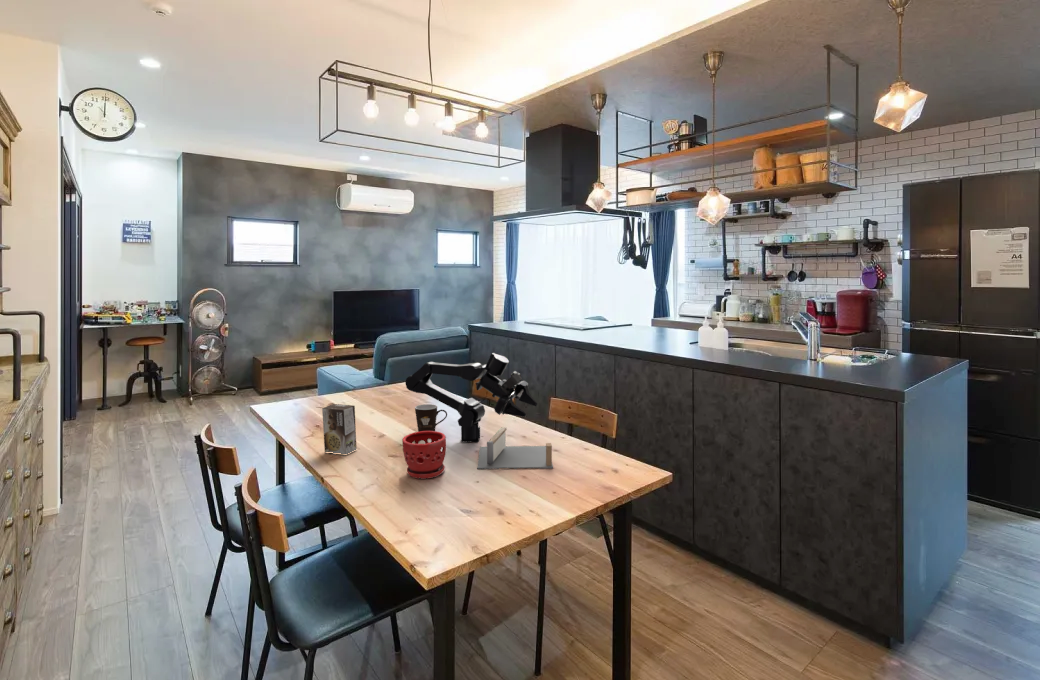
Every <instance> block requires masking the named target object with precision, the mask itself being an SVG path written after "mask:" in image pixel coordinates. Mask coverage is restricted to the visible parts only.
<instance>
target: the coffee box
mask: <svg viewBox="0 0 1040 680" xmlns="http://www.w3.org/2000/svg"><path fill="white" fill-rule="evenodd" d="M355 408H356V407H355V405H353V404H352V405H351V404H339V403H332V404H330V405H327V406H324V407H322V409H321V411H322V427H323V442H324V443H323V445H324V446H323V447H324V453H325V452H333V453H341V454H348V453H350V452H352V451H354V450H356V449H357V431H356V428H357V427H356V410H355Z"/></svg>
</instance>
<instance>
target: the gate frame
mask: <svg viewBox="0 0 1040 680" xmlns="http://www.w3.org/2000/svg"><path fill="white" fill-rule="evenodd" d="M478 452H479V453H478V459H477V460H478V461H477V470H500V469H499V468H514V470H518V469H517V468H539V469H554V465H553V461H552V460H553V446H552V443H551V442H546V443H545V445H537V446H536V445H516V446H515V445H514V446H513V445H511V446H509V445H508V446H505V448H504V449H503V450H502V451H501V452H500V454H499V455H498V456H497V457H496V459H495V460H494V461H493V464H487V446H479V451H478Z"/></svg>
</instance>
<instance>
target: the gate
mask: <svg viewBox="0 0 1040 680" xmlns="http://www.w3.org/2000/svg"><path fill="white" fill-rule="evenodd" d="M507 429H508V428H507V427H506V426H505V427H504V426H502V427H500V428H499V430H497V432H495V433H494V435H493V436H492V437H490V439H488V441H487V442H486V447H487V464H493V461H494V460H495V459H496V457H497V456H498V455H499V454H500V452H501V451H502V450H503V449H504V448H505V446H506V431H507Z"/></svg>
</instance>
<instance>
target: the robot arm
mask: <svg viewBox="0 0 1040 680" xmlns="http://www.w3.org/2000/svg"><path fill="white" fill-rule="evenodd" d="M488 358H489V359H488V360H487V362H486V364H482V363H480V362H472V363H471V362H469V363H464V364H458V363H457V364H456V363H455V364H454V363H443V362H434V361H429V362H426V363H424V364H423V365H422V366H421V367H420V368H419V369H418V370H416V371H415V372H414V373H413V374H411V375H409V376H407V377H406V379H405V387H406V389H407V390H408V391H410V392H412V393H416V394H421V395H422V394H424V395H427V396H429V397H431V398H432V399H434V400H436V401H438V402H440V403H442V404H443V405H446V406H447V407H449V408H451V409H453V410H455V411H457V412H458V414H459V415H460V417H459V418H458V419H457V423H458V426H459V427H460V431H461V432H460V443H478V442H479V440H480V439H481V426H479V422H481V421H482V418H483V417H484V416H485V413H486V409H485V406H484V405H483V404H482V403H481V401H478V400H476V399H475V398H473V397H470V398H468V399H462V398H461V397H459V396H457V395H455V394H453V393H452V392H450V391H448V390H446V389H444V388H442V387H439V386H438V385H436V384H434V383H433V381H432V380H431V377H432V376H433V374H435V375H444V376H454V377H455V376H456V377H459V378H461V379H463V380H466V381H469V382H474V381H476V380H478V379H479V381H477V382H475V388H476V391H480V390H481V389H485V390H486V391H488V392H489V393H491V394H492V395H491V397H492V398H496V397H497V398H498V400H497V401H496V404H495V406H494V409H493V410H494V412H495V413H496V414H497V415H499V416H500V415H501V414H502V415H512V416H513V415H514V416H517V417H526V416H527V413H526V412H525V411H523V410H522V409H521V408H520V407H519V406H517V405H516V404H515V402H514V401H513V399H514V398H515V399H518V401H519V402H521V403H525V404H528V405H529V406H530V405H531V406H534V407H537V406H538V403H537V401H536V400H535V399H534V398H533V396H532V395H531V393H530V391H529V383H528V382H527V381H526V380H523V378H522V374H521V373H519V372H518V371H516V370H514V371H512V373H511V374H510V377H509V378H508V379H500V378H498V377H501V376H502V375H503V373H504V371H505V370H506V368H507V366H508V364H509V362H510V361H509V359H508V358H507V357H506V356H504V355H500V354H497V353H495V352H492V353H491V354H490V356H489V357H488Z"/></svg>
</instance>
